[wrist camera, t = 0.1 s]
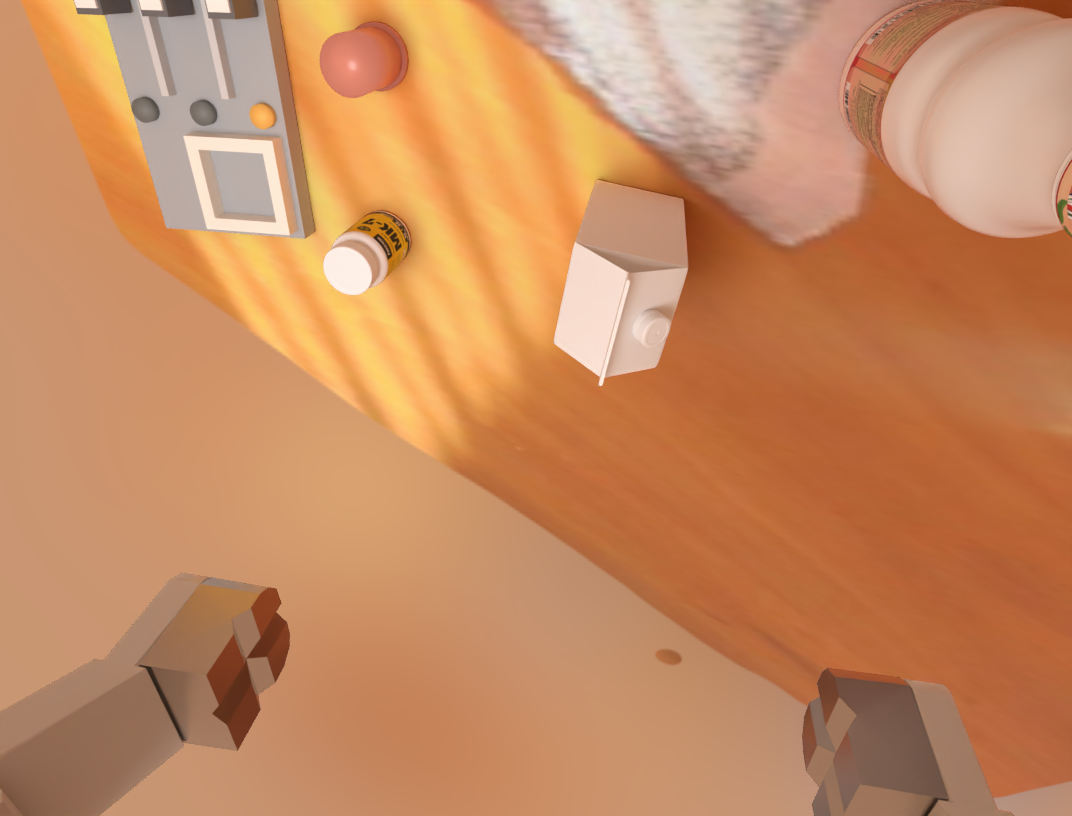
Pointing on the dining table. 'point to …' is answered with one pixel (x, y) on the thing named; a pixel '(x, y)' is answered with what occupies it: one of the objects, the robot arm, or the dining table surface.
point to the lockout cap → (364, 60)
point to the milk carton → (623, 280)
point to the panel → (216, 119)
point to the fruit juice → (970, 111)
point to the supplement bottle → (367, 253)
